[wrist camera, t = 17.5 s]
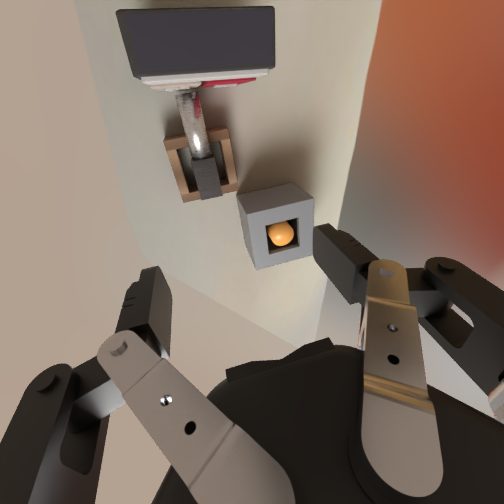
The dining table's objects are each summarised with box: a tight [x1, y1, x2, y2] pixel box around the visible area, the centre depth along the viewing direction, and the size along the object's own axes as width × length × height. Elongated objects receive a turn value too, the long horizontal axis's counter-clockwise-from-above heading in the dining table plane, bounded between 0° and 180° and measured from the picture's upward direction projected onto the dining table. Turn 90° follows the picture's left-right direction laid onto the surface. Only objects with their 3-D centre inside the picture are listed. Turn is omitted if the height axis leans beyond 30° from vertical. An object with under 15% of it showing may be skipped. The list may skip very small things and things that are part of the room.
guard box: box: [236, 182, 314, 270], centre depth 40 cm, size 10×10×8 cm
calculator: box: [116, 6, 275, 92], centre depth 23 cm, size 11×4×15 cm, turn 94°
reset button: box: [265, 221, 294, 246], centre depth 39 cm, size 4×4×5 cm
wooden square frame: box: [163, 126, 239, 203], centre depth 34 cm, size 8×8×3 cm
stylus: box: [175, 92, 223, 200], centre depth 30 cm, size 3×3×12 cm
